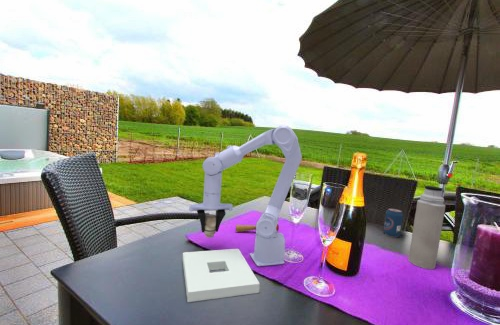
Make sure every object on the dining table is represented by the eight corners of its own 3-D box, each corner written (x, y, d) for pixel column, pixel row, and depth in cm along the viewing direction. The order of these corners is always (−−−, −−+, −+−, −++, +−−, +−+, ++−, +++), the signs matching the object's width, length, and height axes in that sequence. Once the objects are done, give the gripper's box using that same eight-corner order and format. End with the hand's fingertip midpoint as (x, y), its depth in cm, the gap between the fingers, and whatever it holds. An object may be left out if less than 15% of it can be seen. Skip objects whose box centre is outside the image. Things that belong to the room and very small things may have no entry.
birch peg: (214, 233, 87) (215, 214, 87) (216, 237, 83) (217, 217, 83) (202, 233, 86) (203, 214, 85) (204, 238, 82) (205, 218, 81)
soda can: (379, 232, 117) (383, 207, 116) (391, 231, 119) (395, 207, 118) (391, 238, 111) (394, 212, 110) (403, 237, 112) (407, 212, 111)
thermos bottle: (410, 255, 94) (421, 183, 91) (436, 264, 88) (449, 188, 86) (406, 262, 88) (418, 185, 85) (433, 271, 83) (447, 190, 80)
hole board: (237, 255, 82) (238, 248, 82) (258, 292, 64) (259, 283, 63) (182, 260, 77) (182, 252, 76) (187, 302, 58) (188, 292, 58)
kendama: (236, 239, 99) (280, 236, 100) (235, 223, 99) (279, 220, 100) (236, 235, 107) (277, 232, 107) (235, 220, 107) (276, 217, 108)
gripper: (230, 189, 89) (227, 225, 91) (189, 189, 85) (187, 227, 86) (235, 194, 83) (232, 233, 84) (191, 194, 78) (188, 235, 79)
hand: (209, 231), depth 84 cm, fingers closed on birch peg, 4 cm apart
